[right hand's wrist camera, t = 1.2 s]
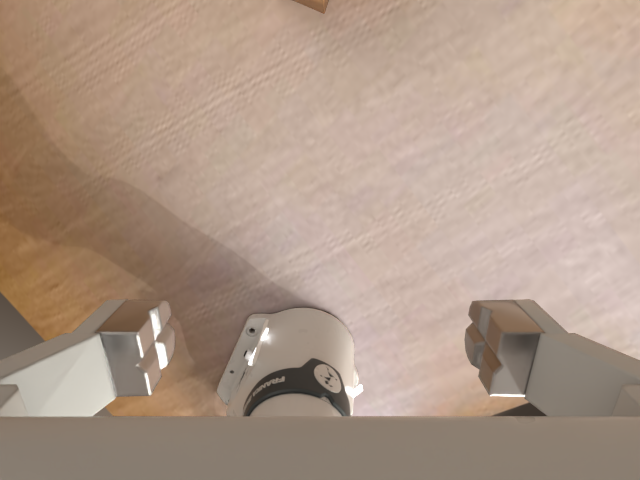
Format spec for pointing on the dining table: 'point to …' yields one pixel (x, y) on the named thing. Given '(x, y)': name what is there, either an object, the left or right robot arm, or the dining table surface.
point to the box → (315, 4)
